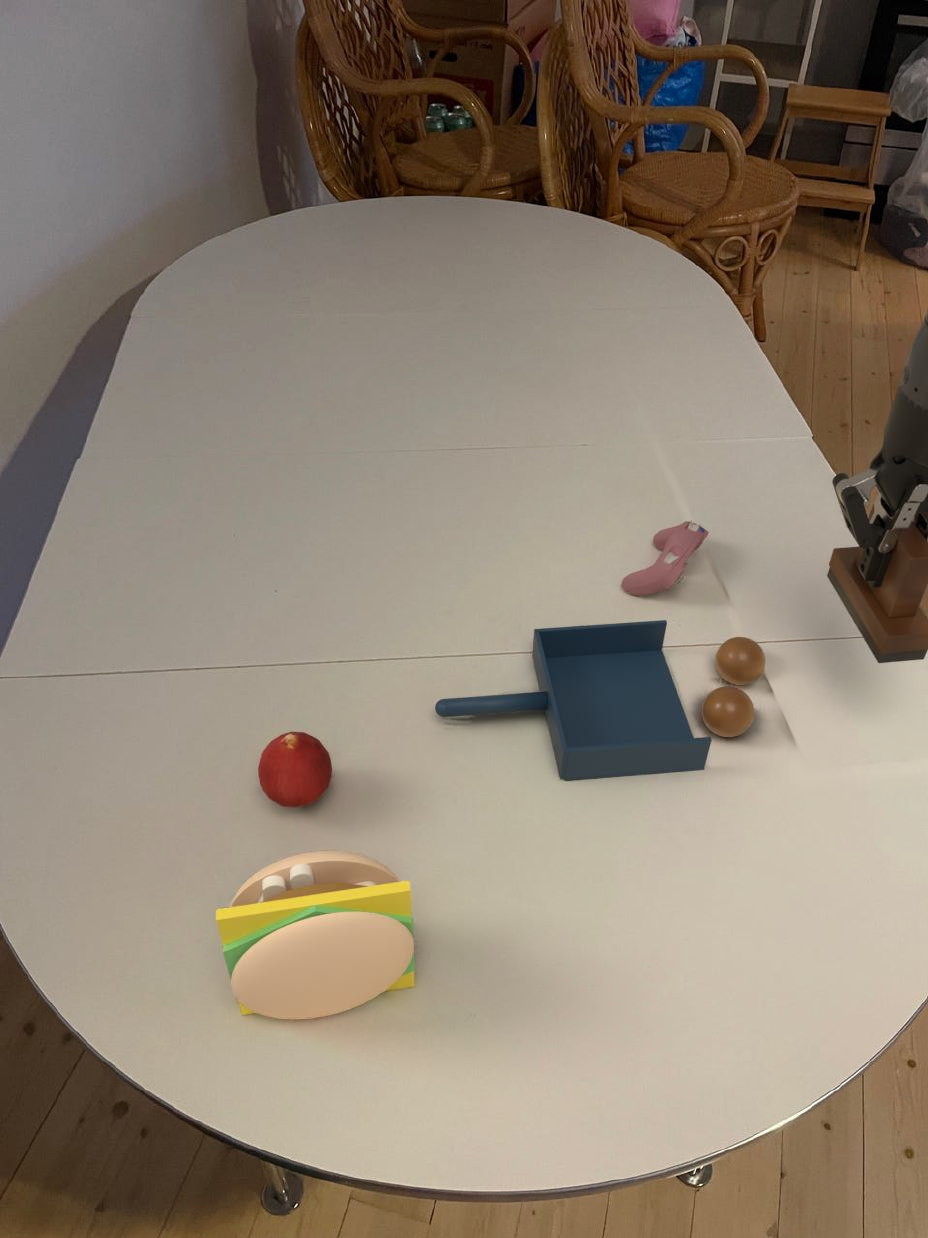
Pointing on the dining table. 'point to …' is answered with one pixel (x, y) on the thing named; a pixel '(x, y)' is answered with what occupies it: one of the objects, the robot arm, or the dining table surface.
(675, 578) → the pink socks
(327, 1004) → the hamburger
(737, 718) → the cork ball
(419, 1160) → the dining table surface
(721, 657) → the brown ball
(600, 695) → the dustpan
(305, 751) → the onion
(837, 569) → the brush
